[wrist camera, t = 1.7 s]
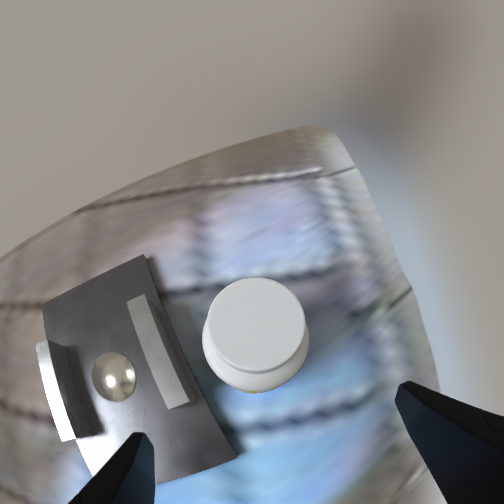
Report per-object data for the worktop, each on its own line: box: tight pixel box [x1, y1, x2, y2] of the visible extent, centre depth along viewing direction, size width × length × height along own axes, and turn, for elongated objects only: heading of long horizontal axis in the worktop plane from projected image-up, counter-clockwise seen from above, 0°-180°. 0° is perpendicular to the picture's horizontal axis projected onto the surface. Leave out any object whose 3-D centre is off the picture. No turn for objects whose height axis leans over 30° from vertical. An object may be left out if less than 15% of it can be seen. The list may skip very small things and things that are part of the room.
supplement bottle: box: [202, 277, 309, 393], centre depth 15 cm, size 5×5×10 cm
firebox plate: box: [36, 254, 238, 484], centre depth 16 cm, size 18×12×3 cm, turn 28°
